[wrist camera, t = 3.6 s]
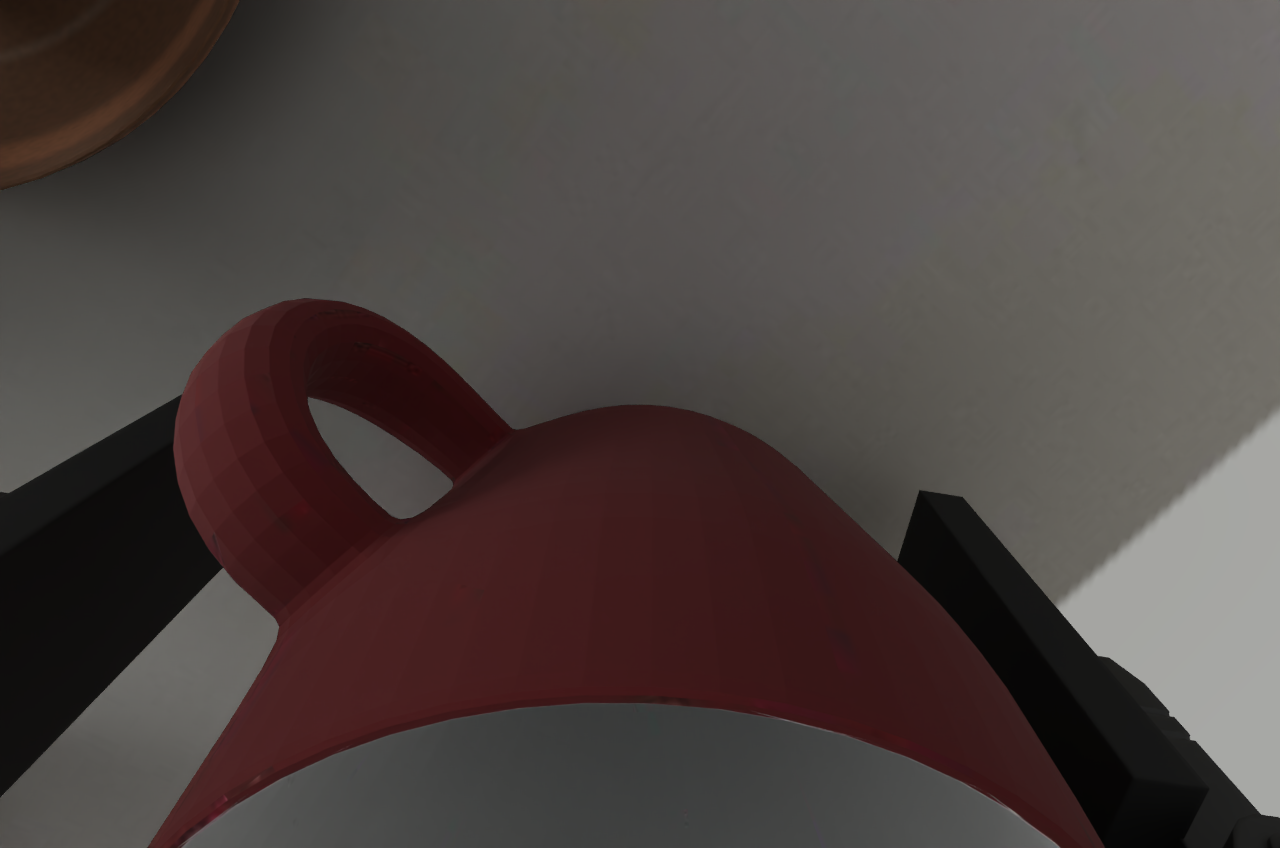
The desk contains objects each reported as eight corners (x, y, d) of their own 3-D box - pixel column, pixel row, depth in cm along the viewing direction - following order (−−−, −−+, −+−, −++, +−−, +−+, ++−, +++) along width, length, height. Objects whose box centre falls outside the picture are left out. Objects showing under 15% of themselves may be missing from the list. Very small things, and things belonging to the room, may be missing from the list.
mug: (227, 464, 15) (-476, 1025, 6) (490, 104, 13) (61, 42, 4) (663, 765, 17) (678, 1527, 8) (949, 500, 15) (1440, 1114, 6)
